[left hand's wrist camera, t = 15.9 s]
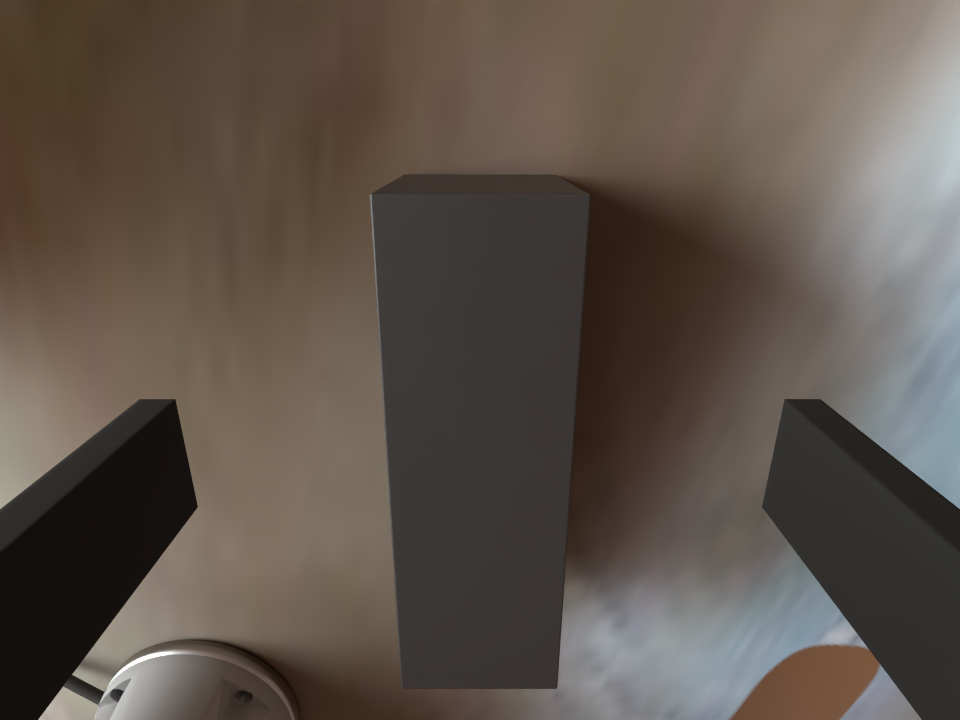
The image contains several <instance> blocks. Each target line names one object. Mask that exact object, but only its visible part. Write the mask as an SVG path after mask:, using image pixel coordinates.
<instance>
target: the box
mask: <svg viewBox="0 0 960 720" xmlns="http://www.w3.org/2000/svg"><path fill="white" fill-rule="evenodd" d="M590 204H591V195H590V194H588V193H587V192H585V191H583V190H581V189H580V188H578V187H576V186H574V185H573V184H571V183H569V182H567V181H566V180H564V179H562V178H560V177H559V176H557V175H403V176H401V177H399V178H398V179H396V180H394V181H393V182H391V183H389V184H387V185H386V186H384V187H382V188H380V189H379V190H377V191H375V192H373V193H372V194H370V205H371V220H372V236H373V251H374V267H375V283H376V298H377V314H378V330H379V345H380V361H381V377H382V392H383V408H384V424H385V439H386V455H387V471H388V486H389V502H390V518H391V533H392V549H393V565H394V580H395V596H396V612H397V627H398V643H399V658H400V674H401V687H402V688H403V689H556V688H557V682H558V668H559V653H560V639H561V624H562V610H563V595H564V581H565V566H566V552H567V537H568V523H569V508H570V494H571V479H572V465H573V451H574V436H575V422H576V407H577V393H578V378H579V364H580V349H581V335H582V320H583V306H584V291H585V277H586V262H587V248H588V233H589V219H590Z"/></svg>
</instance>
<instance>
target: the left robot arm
mask: <svg viewBox="0 0 960 720" xmlns="http://www.w3.org/2000/svg"><path fill="white" fill-rule="evenodd" d="M197 507H198V506H197V501H196V496H195V491H194V487H193V482H192V477H191V472H190V467H189V463H188V458H187V453H186V448H185V443H184V439H183V434H182V429H181V424H180V420H179V415H178V410H177V405H176V400H175V399H140V400H138V401H137V402H136V403H135V404H133V405H132V406H131V407H129V408H128V409H127V410H126V411H124V412H123V413H122V414H121V415H119V416H118V417H117V418H115V419H114V420H113V421H112V422H110V423H109V424H108V425H107V426H105V427H104V428H103V429H102V430H100V431H99V432H98V433H96V434H95V435H94V436H93V437H91V438H90V439H89V440H88V441H86V442H85V443H84V444H83V445H81V446H80V447H79V448H77V449H76V450H75V451H74V452H72V453H71V454H70V455H69V456H67V457H66V458H65V459H63V460H62V461H61V462H60V463H58V464H57V465H56V466H55V467H53V468H52V469H51V470H50V471H48V472H47V473H46V474H44V475H43V476H42V477H41V478H39V479H38V480H37V481H36V482H34V483H33V484H32V485H31V486H29V487H28V488H27V489H25V490H24V491H23V492H22V493H20V494H19V495H18V496H17V497H15V498H14V499H13V500H11V501H10V502H9V503H8V504H6V505H5V506H4V507H3V508H1V509H0V720H38V719H39V718H40V716H41V715H42V714H43V712H44V711H45V710H46V708H47V707H48V706H49V704H50V703H51V702H52V700H53V699H54V698H55V696H56V695H57V694H58V692H59V691H60V690H61V688H62V687H63V686H64V687H66V688H67V689H69V690H71V691H73V692H75V693H77V694H79V695H80V696H82V697H84V698H86V699H88V700H90V701H92V702H94V703H96V704H98V705H99V706H98V709H97V712H96V716H95V719H94V720H299V711H298V706H297V703H296V700H295V697H294V695H293V693H292V691H291V690H290V688H289V686H288V685H287V684H286V682H285V681H284V680H283V679H282V678H281V677H280V676H279V675H278V674H277V673H276V672H275V671H274V670H273V669H272V668H271V667H269V666H268V665H267V664H265V663H264V662H262V661H261V660H259V659H257V658H256V657H254V656H252V655H250V654H248V653H246V652H243V651H241V650H239V649H236V648H233V647H230V646H227V645H223V644H219V643H214V642H208V641H198V640H179V641H171V642H165V643H161V644H157V645H154V646H151V647H148V648H146V649H144V650H142V651H140V652H138V653H136V654H135V655H133V656H132V657H131V658H129V659H128V660H127V661H126V662H125V663H124V664H123V665H122V666H121V667H120V669H119V670H118V671H117V673H116V674H115V676H114V677H113V679H112V680H111V682H110V683H109V685H108V687H107V688H106V690H105V692H103V691H101V690H100V689H98V688H96V687H94V686H92V685H90V684H88V683H86V682H84V681H82V680H81V679H79V678H77V677H75V676H73V675H72V674H73V672H74V671H75V670H76V668H77V667H78V666H79V664H80V663H81V662H82V660H83V659H84V658H85V656H86V655H87V654H88V652H89V651H90V650H91V648H92V647H93V646H94V644H95V643H96V642H97V640H98V639H99V638H100V636H101V635H102V634H103V632H104V631H105V630H106V628H107V627H108V626H109V624H110V623H111V622H112V620H113V619H114V618H115V616H116V615H117V614H118V612H119V611H120V610H121V608H122V607H123V606H124V604H125V603H126V602H127V600H128V599H129V598H130V596H131V595H132V594H133V592H134V591H135V590H136V588H137V587H138V586H139V584H140V583H141V582H142V580H143V579H144V578H145V577H146V575H147V574H148V573H149V571H150V570H151V569H152V567H153V566H154V565H155V563H156V562H157V561H158V559H159V558H160V557H161V555H162V554H163V553H164V551H165V550H166V549H167V547H168V546H169V545H170V543H171V542H172V541H173V539H174V538H175V537H176V535H177V534H178V533H179V531H180V530H181V529H182V527H183V526H184V525H185V523H186V522H187V521H188V519H189V518H190V517H191V515H192V514H193V513H194V511H195V510H196V509H197ZM762 507H763V509H764V510H765V511H766V513H767V514H768V515H769V517H770V518H771V519H772V521H773V522H774V523H775V525H776V526H777V527H778V529H779V530H780V531H781V533H782V534H783V535H784V537H785V538H786V539H787V541H788V542H789V543H790V545H791V546H792V547H793V549H794V550H795V551H796V553H797V554H798V555H799V557H800V558H801V559H802V561H803V562H804V563H805V565H806V566H807V567H808V569H809V570H810V571H811V573H812V574H813V575H814V577H815V578H816V579H817V581H818V582H819V583H820V584H821V586H822V587H823V588H824V590H825V591H826V592H827V594H828V595H829V596H830V598H831V599H832V600H833V602H834V603H835V604H836V606H837V607H838V608H839V610H840V611H841V612H842V614H843V615H844V616H845V618H846V619H847V620H848V622H849V623H850V624H851V626H852V627H853V628H854V630H855V631H856V632H857V634H858V635H859V636H860V638H861V639H862V640H863V642H864V643H865V644H866V646H867V647H868V648H869V650H870V651H871V652H872V654H873V655H874V656H875V658H876V659H877V660H878V662H879V663H880V664H881V666H882V667H883V668H884V670H885V671H886V672H887V674H888V675H889V676H890V678H891V679H892V680H893V682H894V683H895V684H896V686H897V687H898V688H899V690H900V691H901V692H902V694H903V695H904V696H905V698H906V699H907V700H908V702H909V703H910V704H911V706H912V707H913V708H914V710H915V711H916V712H917V714H918V715H919V716H920V718H921V719H922V720H960V509H959V508H957V507H956V506H955V505H954V504H952V503H951V502H950V501H949V500H947V499H946V498H945V497H943V496H942V495H941V494H940V493H938V492H937V491H936V490H935V489H933V488H932V487H931V486H929V485H928V484H927V483H926V482H924V481H923V480H922V479H921V478H919V477H918V476H917V475H916V474H914V473H913V472H912V471H910V470H909V469H908V468H907V467H905V466H904V465H903V464H902V463H900V462H899V461H898V460H897V459H895V458H894V457H893V456H891V455H890V454H889V453H888V452H886V451H885V450H884V449H883V448H881V447H880V446H879V445H877V444H876V443H875V442H874V441H872V440H871V439H870V438H869V437H867V436H866V435H865V434H864V433H862V432H861V431H860V430H858V429H857V428H856V427H855V426H853V425H852V424H851V423H850V422H848V421H847V420H846V419H845V418H843V417H842V416H841V415H839V414H838V413H837V412H836V411H834V410H833V409H832V408H831V407H829V406H828V405H827V404H825V403H824V402H823V401H822V400H820V399H785V400H784V405H783V410H782V415H781V420H780V424H779V429H778V434H777V439H776V443H775V448H774V453H773V458H772V463H771V467H770V472H769V477H768V482H767V487H766V491H765V496H764V501H763V506H762Z"/></svg>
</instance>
